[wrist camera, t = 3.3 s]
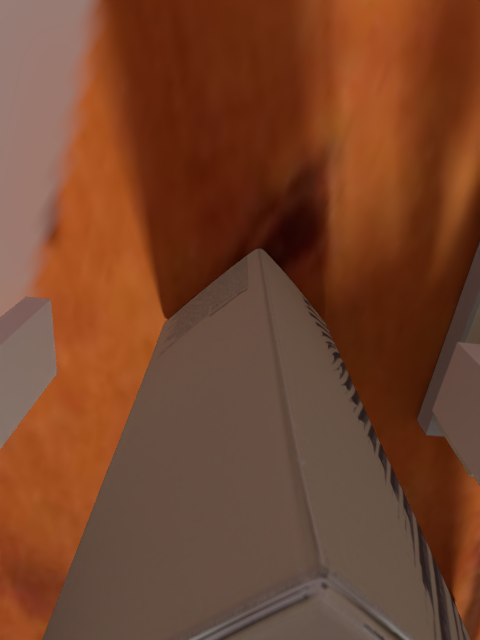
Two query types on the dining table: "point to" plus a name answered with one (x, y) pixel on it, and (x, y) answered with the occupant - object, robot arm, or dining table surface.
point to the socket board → (467, 327)
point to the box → (251, 492)
